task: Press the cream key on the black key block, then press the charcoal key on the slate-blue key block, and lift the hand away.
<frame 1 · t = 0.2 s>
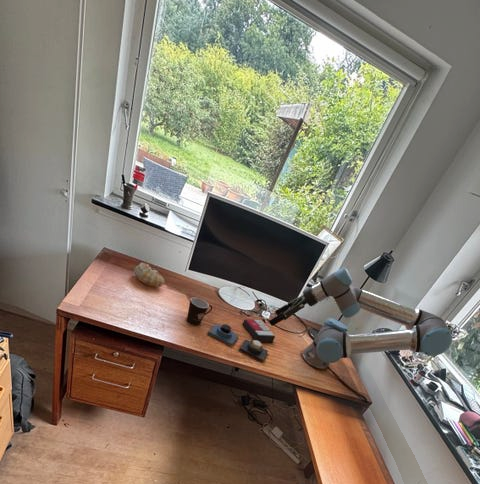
hand: (273, 318, 157), 16 cm above the table, tool tilted 30°, fingers open, 13 cm apart
coffee mug: (196, 322, 160), on the table
blue key block: (223, 336, 160), on the table
cream key: (256, 344, 158), point 4 cm above the table, slide at 0.1 cm
dark key: (225, 328, 158), point 4 cm above the table, slide at 0.1 cm
nautilus: (147, 280, 171), on the table
calculator: (257, 333, 175), on the table
black key block: (253, 351, 160), on the table
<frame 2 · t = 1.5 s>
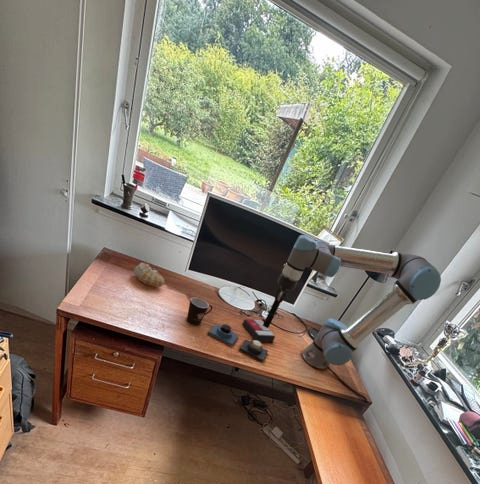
hand: (265, 326, 151), 14 cm above the table, tool pointing down, fingers closed
nothing on the table moved.
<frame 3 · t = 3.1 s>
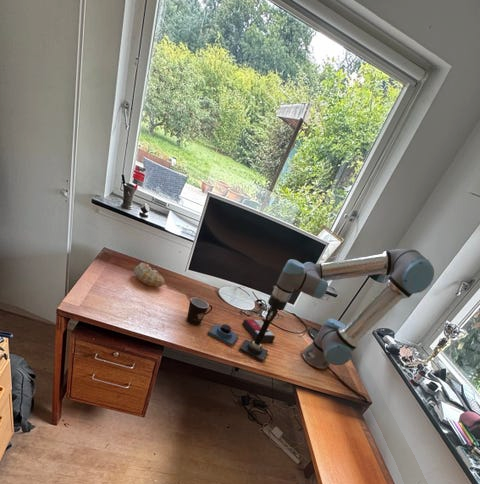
hand: (257, 343, 157), 5 cm above the table, tool pointing down, fingers closed
cream key: (256, 345, 158), point 4 cm above the table, slide at -0.4 cm, touching gripper
everything else where it was.
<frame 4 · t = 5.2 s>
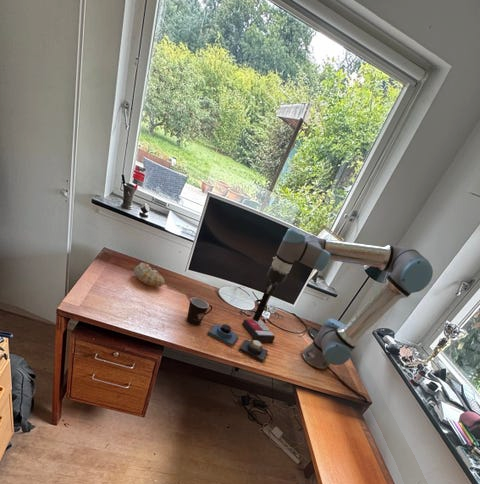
hand: (255, 319, 151), 15 cm above the table, tool pointing down, fingers closed
cream key: (256, 344, 158), point 4 cm above the table, slide at 0.1 cm
everything else where it was.
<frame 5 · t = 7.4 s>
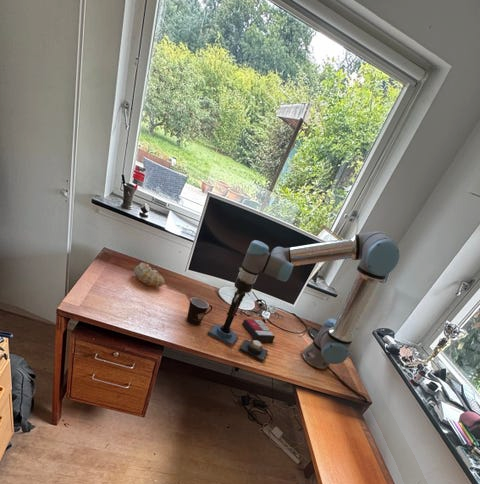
hand: (226, 327, 157), 5 cm above the table, tool pointing down, fingers closed
dark key: (225, 329, 158), point 4 cm above the table, slide at -0.4 cm, touching gripper
everything else where it was.
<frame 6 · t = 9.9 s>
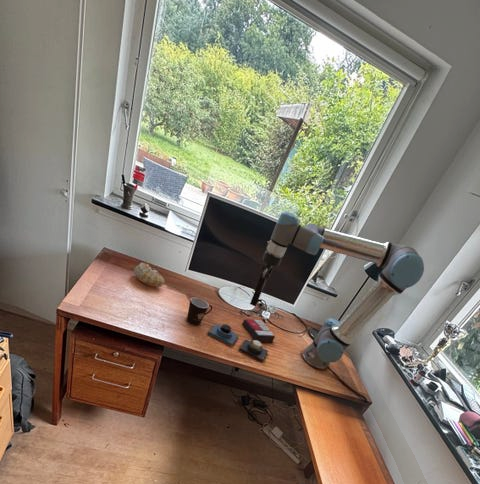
hand: (252, 304, 155), 18 cm above the table, tool pointing down, fingers closed
dark key: (225, 328, 158), point 4 cm above the table, slide at 0.1 cm
everything else where it was.
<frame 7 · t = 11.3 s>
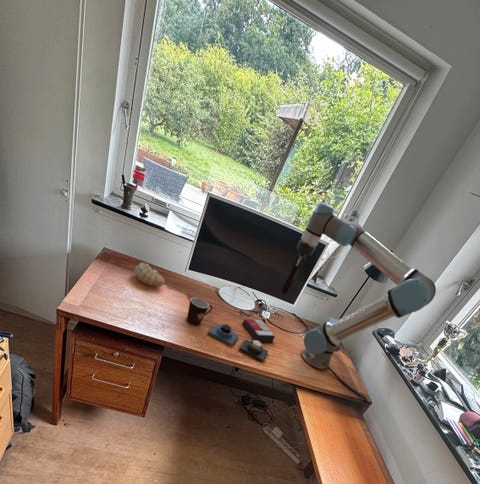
hand: (283, 292, 161), 24 cm above the table, tool pointing down, fingers closed
nothing on the table moved.
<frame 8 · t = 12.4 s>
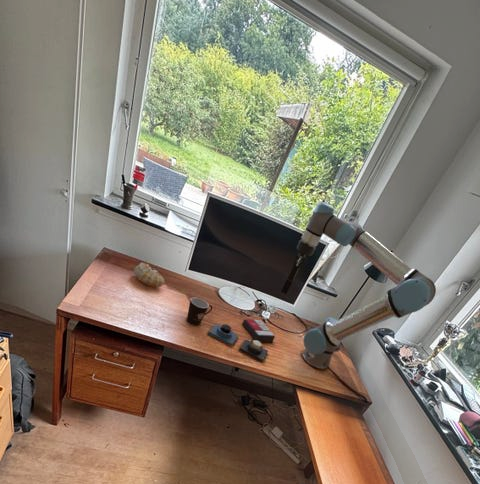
hand: (283, 292, 161), 24 cm above the table, tool pointing down, fingers closed
nothing on the table moved.
at the end: cream key pushed in 1.0 cm at the most during the clip, back to where it started at the end; dark key pushed in 1.0 cm at the most during the clip, back to where it started at the end; dark key slide at 0.1 cm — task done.
